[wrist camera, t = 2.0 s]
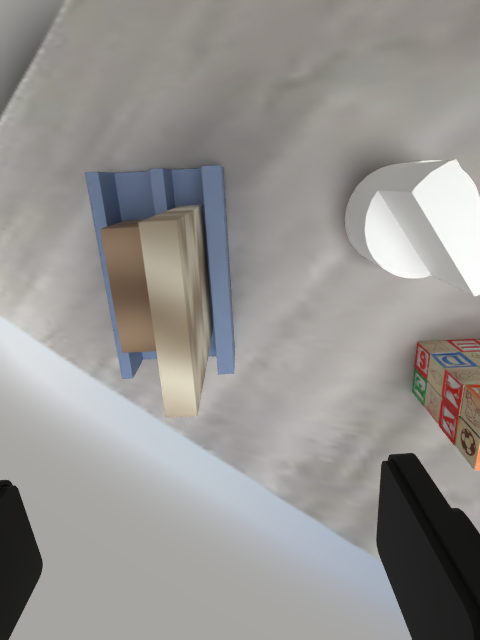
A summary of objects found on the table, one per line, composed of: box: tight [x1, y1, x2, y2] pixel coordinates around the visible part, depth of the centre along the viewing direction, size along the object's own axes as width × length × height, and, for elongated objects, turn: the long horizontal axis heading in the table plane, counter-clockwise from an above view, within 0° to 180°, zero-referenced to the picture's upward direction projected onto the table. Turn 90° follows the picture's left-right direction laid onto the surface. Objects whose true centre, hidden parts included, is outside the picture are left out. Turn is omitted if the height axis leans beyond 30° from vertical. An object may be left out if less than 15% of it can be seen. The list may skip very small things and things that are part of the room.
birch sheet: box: [138, 204, 213, 418], centre depth 29 cm, size 12×2×15 cm, turn 3°
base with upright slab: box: [345, 159, 480, 296], centre depth 29 cm, size 9×9×12 cm
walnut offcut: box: [100, 219, 156, 353], centre depth 33 cm, size 10×3×7 cm, turn 3°
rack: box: [85, 165, 235, 379], centre depth 34 cm, size 18×10×5 cm, turn 3°
